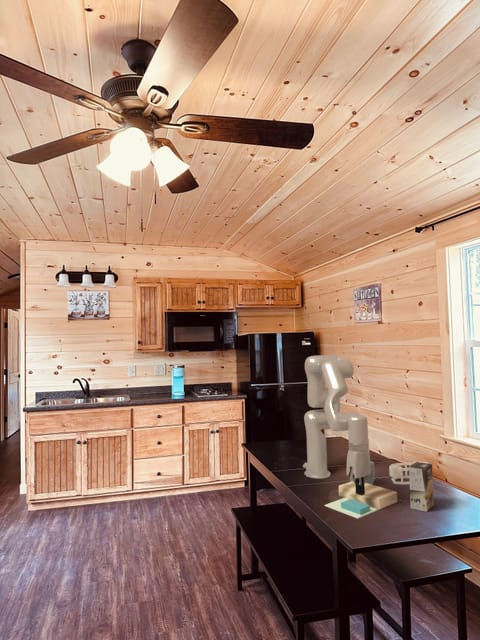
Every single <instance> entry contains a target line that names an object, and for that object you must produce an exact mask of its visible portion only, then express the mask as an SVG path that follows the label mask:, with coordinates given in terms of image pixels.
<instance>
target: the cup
mask: <svg viewBox="0 0 480 640" xmlns="http://www.w3.org/2000/svg"><path fill="white" fill-rule="evenodd" d="M370 462H371V473H370V474H369V477H367V478H366V483H368V484H372V485H374V482H375V469H376V468H375V462H374V461H371V460H370Z"/></svg>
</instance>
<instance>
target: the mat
mask: <svg viewBox="0 0 480 640" xmlns="http://www.w3.org/2000/svg"><path fill="white" fill-rule="evenodd" d="M347 500H349V499H348V498H345V497H342V498H340V499H337V500H335V501H332V502H329V503H326V504H324V507H327V508H328V509H332V510H334V511H337V512H339V513H342V514H345V515H346V516H347V515H348V516H350V517H352V518H355V519H361V518H362V517H365V516H368V515H370V514H372V513H375V512H377V511H379V509H377V508H374V507H371V506H370V511H368V512H366V513H364V514H361V515H359V514H357V513H354V512H351V511H348V510H346V509H343V508H341V502H344V501H347Z"/></svg>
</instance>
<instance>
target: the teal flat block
mask: <svg viewBox="0 0 480 640" xmlns="http://www.w3.org/2000/svg"><path fill="white" fill-rule="evenodd" d="M370 507H371V506H370V505H367V504H364V503H361V502H358V501H355V500H352V499H349V500H347V501H344V502H341V508H343V509H346V510H348V511H351V512H354V513H357V514H359V515H361V514H364V513H366V512H368V511H370Z"/></svg>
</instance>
